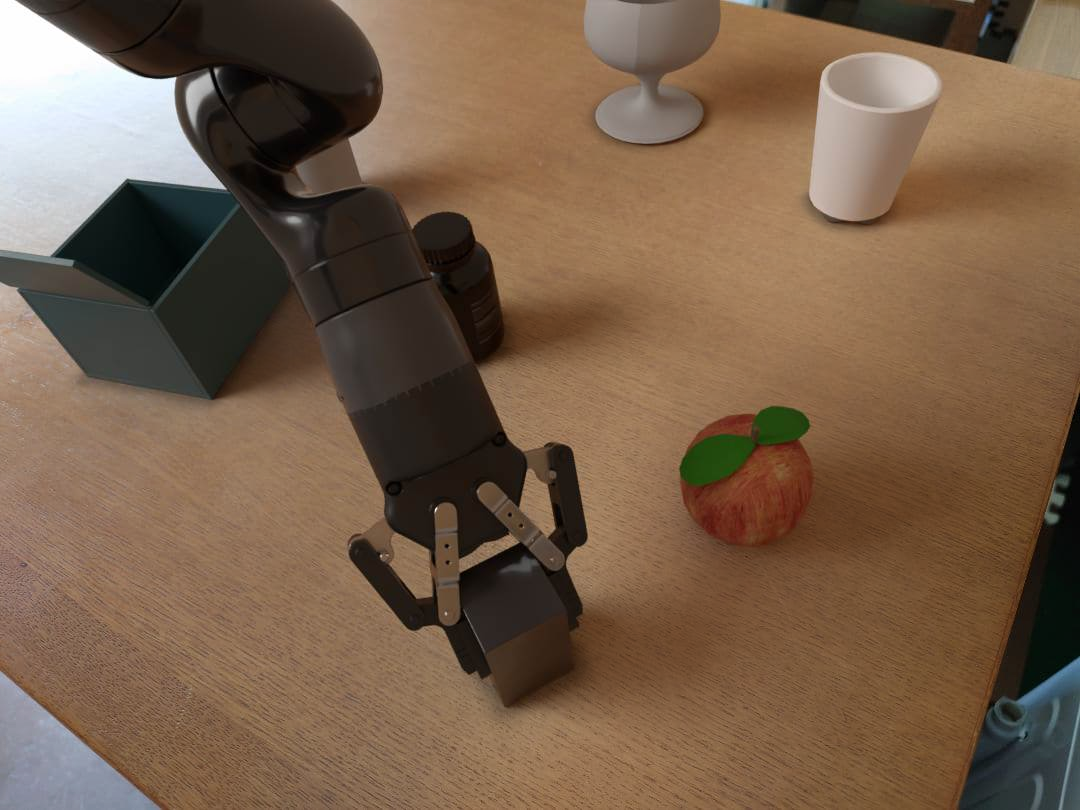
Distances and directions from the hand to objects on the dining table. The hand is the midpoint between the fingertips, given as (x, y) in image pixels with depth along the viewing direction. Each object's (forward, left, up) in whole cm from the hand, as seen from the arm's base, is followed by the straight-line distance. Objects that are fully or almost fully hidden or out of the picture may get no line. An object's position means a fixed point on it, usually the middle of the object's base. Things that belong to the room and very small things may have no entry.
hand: (527, 647), depth 45 cm
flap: (-15, +40, +9) cm, 44 cm away
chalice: (+45, +47, -5) cm, 65 cm away
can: (+9, +55, -5) cm, 56 cm away
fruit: (+18, +2, -5) cm, 19 cm away
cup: (+50, +22, -5) cm, 55 cm away
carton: (-9, +46, -5) cm, 47 cm away
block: (0, +2, -5) cm, 5 cm away
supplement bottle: (+11, +29, -5) cm, 31 cm away
